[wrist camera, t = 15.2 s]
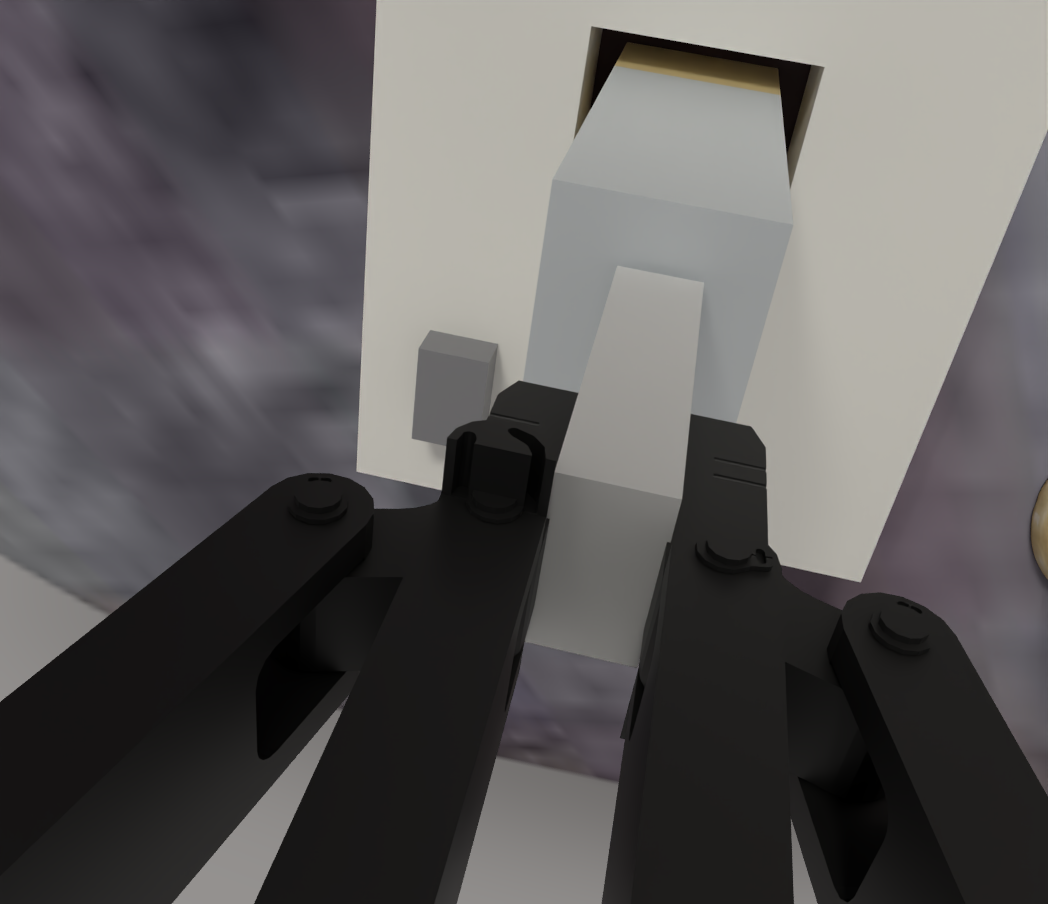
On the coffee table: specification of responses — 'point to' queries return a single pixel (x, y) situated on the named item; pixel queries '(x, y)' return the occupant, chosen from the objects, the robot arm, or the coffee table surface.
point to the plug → (669, 214)
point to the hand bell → (1041, 530)
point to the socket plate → (812, 252)
